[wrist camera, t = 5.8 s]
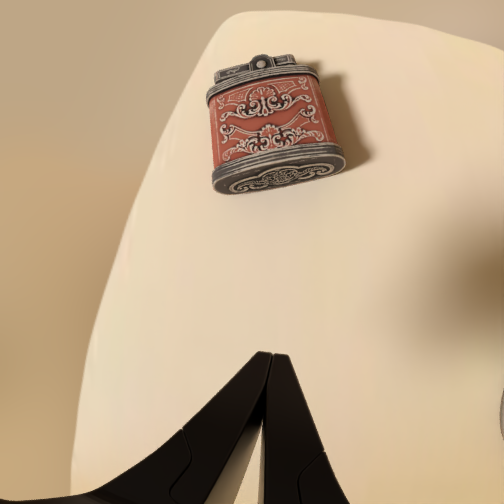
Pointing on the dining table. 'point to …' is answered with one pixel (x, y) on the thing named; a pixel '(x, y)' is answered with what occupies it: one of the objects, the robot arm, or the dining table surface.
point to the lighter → (270, 127)
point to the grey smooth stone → (502, 415)
